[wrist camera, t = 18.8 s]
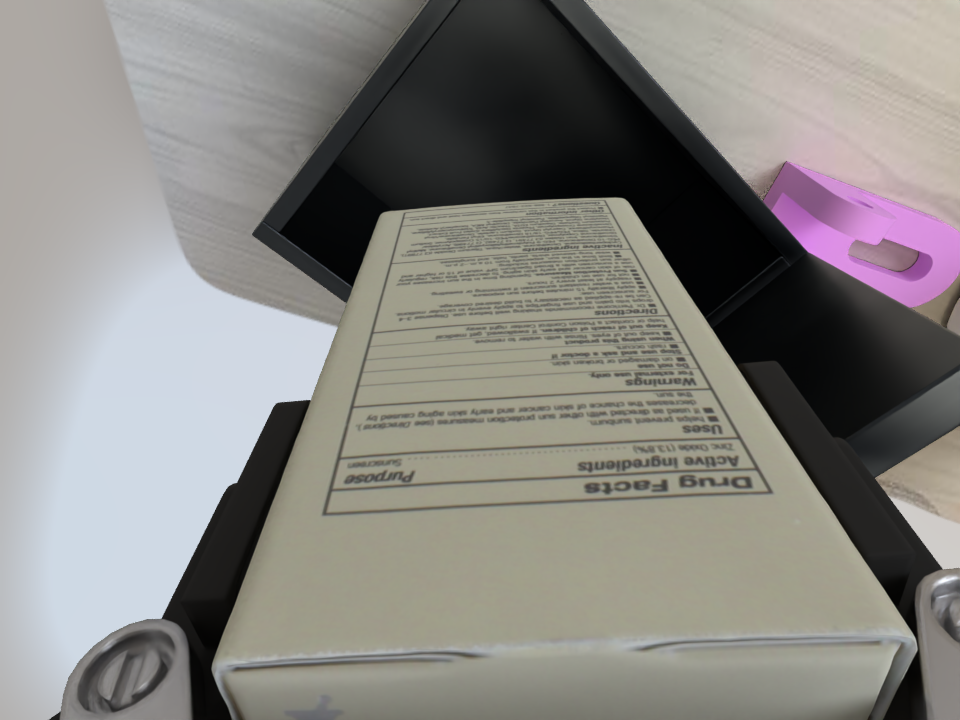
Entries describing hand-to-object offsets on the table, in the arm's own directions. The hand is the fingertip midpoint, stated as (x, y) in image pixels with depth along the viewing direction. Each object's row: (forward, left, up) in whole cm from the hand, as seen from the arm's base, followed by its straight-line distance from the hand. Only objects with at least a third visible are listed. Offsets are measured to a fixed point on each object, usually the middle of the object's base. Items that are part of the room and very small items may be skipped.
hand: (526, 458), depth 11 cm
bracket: (+22, -10, -29) cm, 37 cm away
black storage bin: (+2, -3, -28) cm, 29 cm away
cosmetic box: (0, 0, -7) cm, 7 cm away
